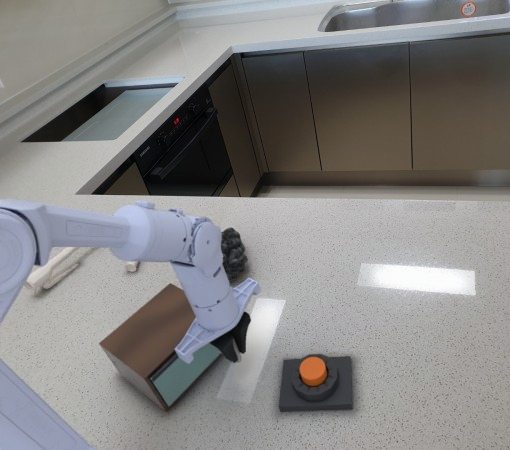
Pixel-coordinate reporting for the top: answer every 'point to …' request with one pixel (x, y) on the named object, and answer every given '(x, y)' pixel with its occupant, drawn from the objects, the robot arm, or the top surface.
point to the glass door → (184, 371)
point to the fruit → (232, 253)
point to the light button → (313, 371)
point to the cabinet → (151, 340)
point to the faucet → (45, 273)
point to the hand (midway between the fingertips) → (236, 354)
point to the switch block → (317, 397)
